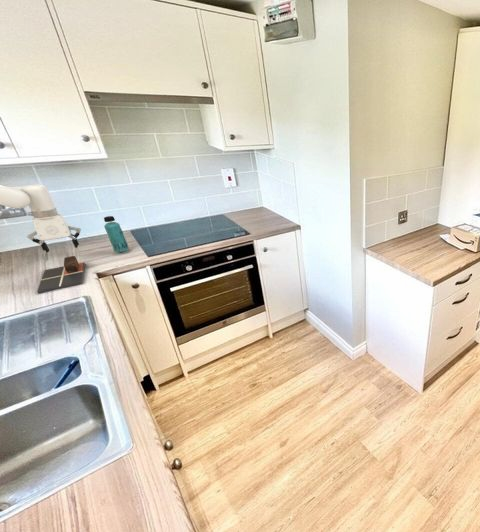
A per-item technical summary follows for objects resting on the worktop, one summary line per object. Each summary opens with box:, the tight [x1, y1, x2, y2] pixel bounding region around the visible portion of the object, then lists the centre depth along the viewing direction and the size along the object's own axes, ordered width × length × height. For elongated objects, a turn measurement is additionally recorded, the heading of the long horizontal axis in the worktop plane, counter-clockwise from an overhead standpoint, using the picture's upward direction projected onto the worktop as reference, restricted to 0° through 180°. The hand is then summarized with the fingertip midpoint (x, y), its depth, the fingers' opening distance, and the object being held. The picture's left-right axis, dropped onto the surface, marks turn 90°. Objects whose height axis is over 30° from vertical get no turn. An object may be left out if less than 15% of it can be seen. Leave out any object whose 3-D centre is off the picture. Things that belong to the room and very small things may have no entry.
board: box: [36, 261, 86, 294], centre depth 148 cm, size 14×24×1 cm, turn 39°
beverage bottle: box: [103, 215, 129, 253], centre depth 169 cm, size 6×7×20 cm
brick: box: [63, 255, 80, 273], centre depth 152 cm, size 11×4×5 cm, turn 41°
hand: (62, 249), depth 148 cm, fingers open, 9 cm apart
